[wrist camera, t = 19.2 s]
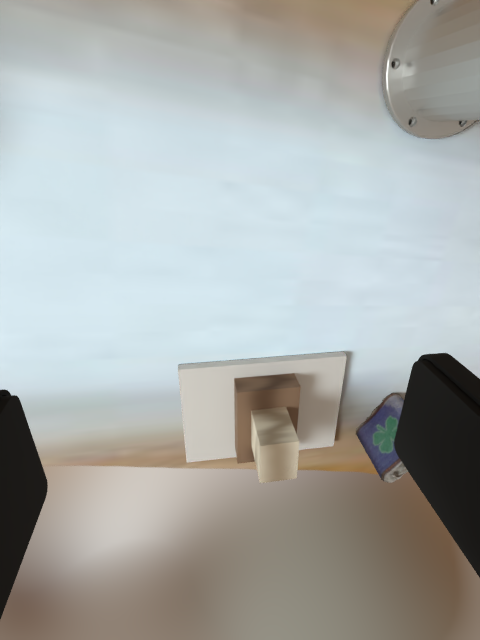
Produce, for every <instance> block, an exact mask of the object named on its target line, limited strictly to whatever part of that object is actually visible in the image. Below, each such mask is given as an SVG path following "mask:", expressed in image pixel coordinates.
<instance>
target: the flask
mask: <svg viewBox="0 0 480 640" xmlns="http://www.w3.org/2000/svg"><path fill="white" fill-rule="evenodd" d="M382 401H383V402H382V403H381V404H380V405H379V406H378V407H376V409H374V411H373V412H372V414H371V416H370V417H369V418H367V419H366V421H365V422H364V423H362V424H361V426H359V427H358V428H357V429H356V434H357V436H358V438H359V440H360V442H361V444H362V445H363V447H364V449H365V451H366V453H367V454H368V456H369V458H370V459H371V461H372V463H373V465H374V467H375V469H376V470H377V472H378V473H379V476H380V478H381V480H383V481H385V482H394V481H395V480H397V479H400V477H402V475H403V474H405V473H406V472H408V470H407V469H406V467H405V466H404V464H403V463H402V461H401V460H400V458H399V457H398V455H397V453H396V451H395V447H394V439H395V435H396V431H397V427H398V423H399V419H400V415H401V411H402V407H403V403H404V400H403V399H402V398H401V396H399V395H398V394H396V393H392V394H391V395H389V396H387V397H386V398H385V399H383V400H382Z"/></svg>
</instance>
